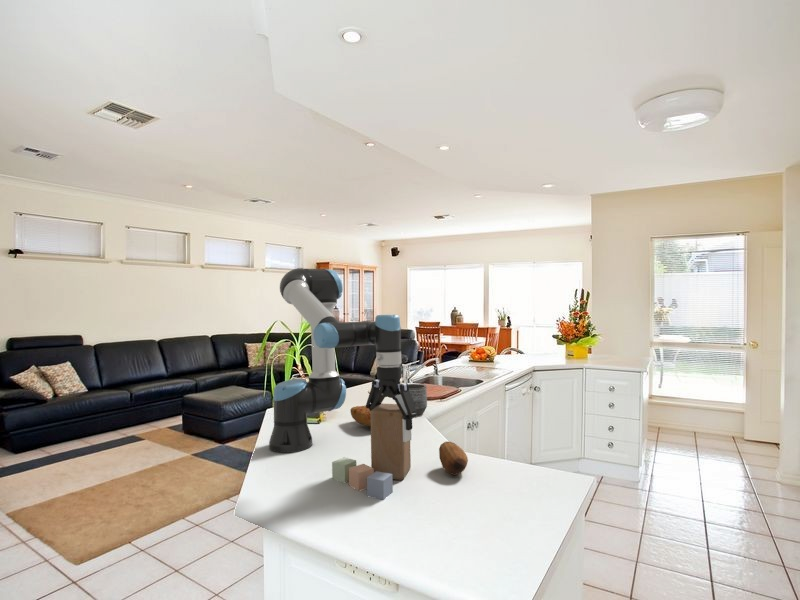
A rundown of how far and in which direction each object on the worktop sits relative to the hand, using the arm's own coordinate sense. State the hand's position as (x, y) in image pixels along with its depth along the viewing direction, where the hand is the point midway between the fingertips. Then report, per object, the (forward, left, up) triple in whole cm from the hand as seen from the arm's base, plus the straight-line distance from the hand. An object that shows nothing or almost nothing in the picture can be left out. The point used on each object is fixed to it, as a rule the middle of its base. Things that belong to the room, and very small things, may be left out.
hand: (391, 436), depth 133 cm
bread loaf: (-44, +31, -11) cm, 55 cm away
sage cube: (-7, -12, -11) cm, 18 cm away
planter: (-46, +56, -11) cm, 74 cm away
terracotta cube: (+1, -12, -11) cm, 16 cm away
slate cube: (+9, -12, -11) cm, 18 cm away
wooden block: (0, 0, -11) cm, 11 cm away
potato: (+13, +14, -11) cm, 22 cm away
